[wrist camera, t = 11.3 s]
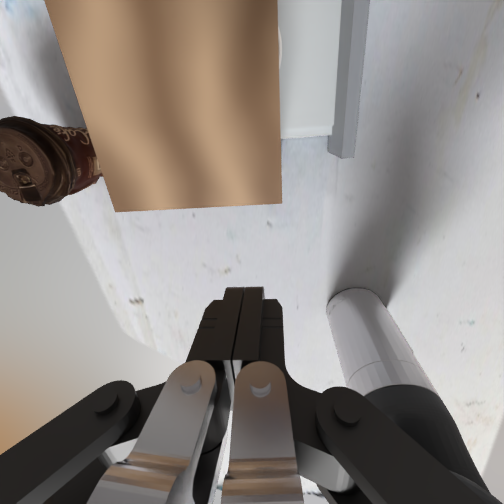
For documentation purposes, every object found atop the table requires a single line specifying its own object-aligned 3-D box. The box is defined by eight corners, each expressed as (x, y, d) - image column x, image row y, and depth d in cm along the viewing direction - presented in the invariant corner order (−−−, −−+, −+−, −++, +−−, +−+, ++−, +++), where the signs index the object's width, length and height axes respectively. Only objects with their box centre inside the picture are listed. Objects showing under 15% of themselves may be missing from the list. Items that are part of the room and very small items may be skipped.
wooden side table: (272, -67, 24) (269, -353, 10) (278, 170, 34) (282, 203, 19) (135, -44, 25) (-44, -261, 11) (179, 177, 35) (115, 212, 21)
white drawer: (351, -52, 24) (382, -121, 17) (337, 151, 32) (353, 157, 25) (152, -21, 26) (110, -72, 19) (186, 162, 34) (164, 170, 27)
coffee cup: (120, 196, 37) (50, 228, 26) (65, 166, 36) (-35, 185, 24) (138, 141, 33) (66, 150, 22) (78, 105, 32) (-33, 94, 20)
